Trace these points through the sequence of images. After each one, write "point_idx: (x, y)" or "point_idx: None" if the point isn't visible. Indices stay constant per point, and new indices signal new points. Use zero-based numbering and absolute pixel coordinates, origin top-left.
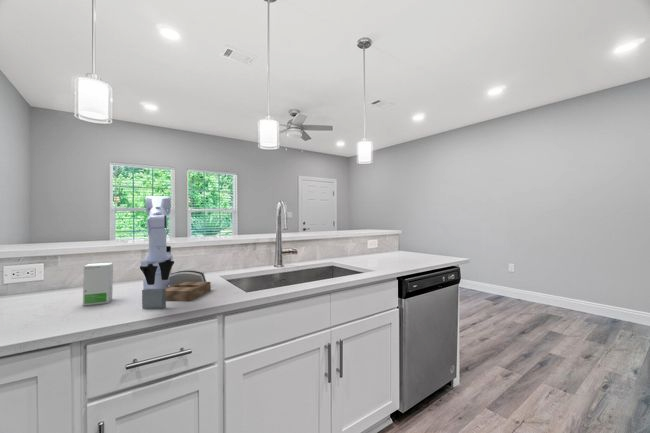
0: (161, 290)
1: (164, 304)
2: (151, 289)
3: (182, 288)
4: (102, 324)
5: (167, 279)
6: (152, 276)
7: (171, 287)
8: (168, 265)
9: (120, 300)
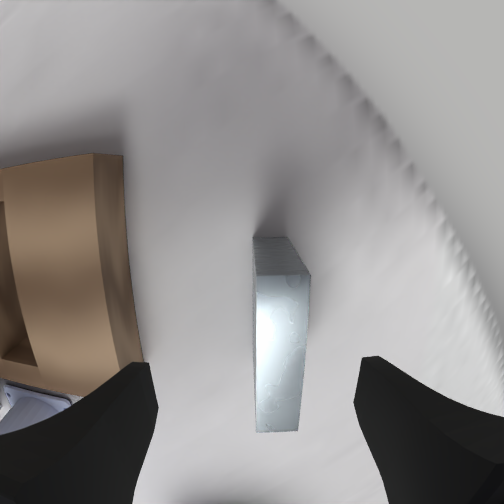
0: (309, 280)
1: (267, 242)
2: (278, 386)
3: (40, 273)
4: (462, 351)
5: (137, 362)
6: (440, 398)
7: (45, 363)
8: (69, 481)
9: (183, 492)
